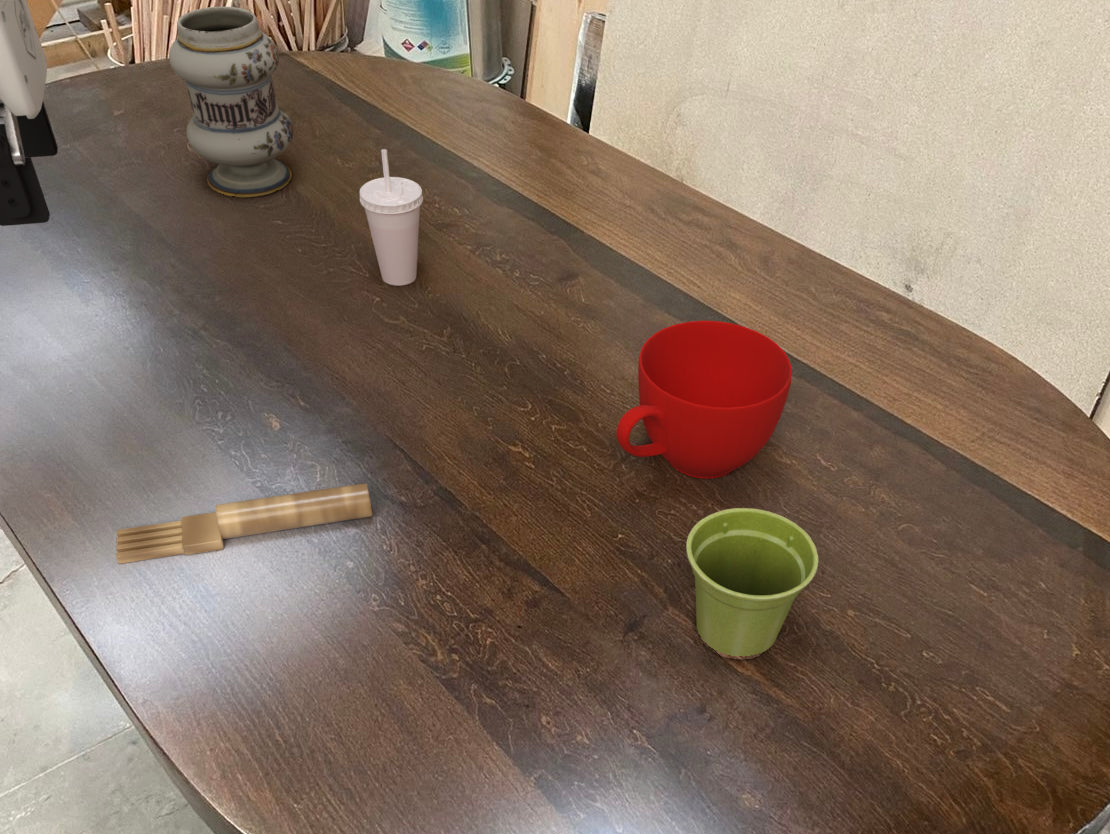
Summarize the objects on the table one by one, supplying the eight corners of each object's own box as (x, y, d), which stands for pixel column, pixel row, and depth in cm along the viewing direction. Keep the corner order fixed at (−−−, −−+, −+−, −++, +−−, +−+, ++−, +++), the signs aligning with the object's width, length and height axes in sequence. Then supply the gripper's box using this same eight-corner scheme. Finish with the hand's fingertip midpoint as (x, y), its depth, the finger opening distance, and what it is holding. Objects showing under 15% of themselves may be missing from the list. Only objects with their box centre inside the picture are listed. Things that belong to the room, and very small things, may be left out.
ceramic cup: (567, 462, 95) (570, 368, 88) (704, 395, 103) (717, 304, 96) (665, 542, 89) (677, 448, 82) (803, 464, 97) (825, 371, 89)
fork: (368, 498, 91) (364, 472, 89) (374, 526, 89) (370, 501, 86) (119, 535, 86) (109, 509, 84) (118, 565, 84) (108, 539, 82)
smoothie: (358, 285, 114) (342, 155, 104) (384, 257, 118) (371, 129, 108) (414, 297, 113) (402, 167, 103) (438, 268, 117) (429, 140, 107)
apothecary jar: (214, 153, 133) (179, -5, 120) (310, 159, 133) (286, 2, 120) (184, 199, 125) (144, 34, 112) (287, 205, 125) (259, 41, 112)
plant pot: (668, 588, 85) (679, 507, 79) (784, 586, 86) (804, 506, 80) (682, 680, 79) (695, 599, 72) (807, 677, 80) (831, 597, 73)
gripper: (-15, -65, 54) (84, 246, 67) (12, -151, 66) (93, 129, 78) (-181, -61, 53) (-47, 257, 65) (-124, -150, 64) (-19, 136, 76)
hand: (29, 187), depth 72 cm, fingers open, 9 cm apart
